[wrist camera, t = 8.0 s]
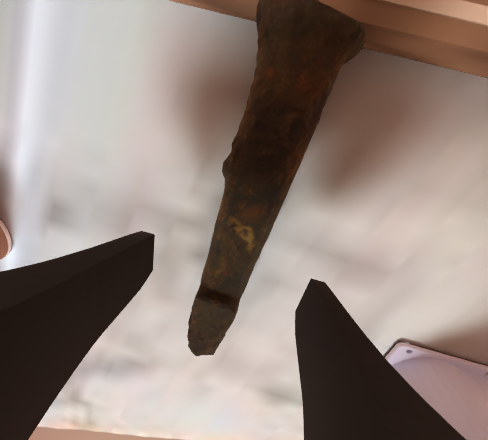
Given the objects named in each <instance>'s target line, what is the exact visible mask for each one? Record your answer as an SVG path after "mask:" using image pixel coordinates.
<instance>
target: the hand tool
mask: <svg viewBox="0 0 488 440" xmlns="http://www.w3.org/2000/svg"><path fill="white" fill-rule="evenodd" d="M256 23H257V30H258V53H257V67H256V70H255V75H254V81H253V84H252V86H251V90H250V95H249V98H248V101H247V107H246V110H245V112H244V116H243V118H242V121H241V123H240V126H239V130H238V133H237V135H236V137H235V138H234V140H233V143H232V151H231V153H230V154H229V156H228V157H227V159H226V160H225V161H224V162H223V169H222V172H223V175H224V178H225V189H224V194H223V198H222V202H221V206H220V210H219V213H218V216H217V220H216V223H215V228H214V233H213V237H212V241H211V246H210V250H209V254H208V258H207V261H206V264H205V267H204V270H203V274H202V278H201V284H200V287H199V290H198V292H197V294H196V297H195V300H194V303H193V305H192V311H191V315H190V318H189V322H188V323H189V329H188V336H187V337H188V341H189V344H188V346H189V348H190V350H191V352H192V353H193V354H194V355H195V356H200V355H213V354H214V353H215V351H216V349H217V348H218V346H219V344H220V343H221V341H222V340H223V338H224V337H225V333H226V332H227V330H228V329H229V327H230V326H231V324H232V322H233V321H234V319H235V316H236V313H237V311H238V306H239V302H240V298H241V296H242V294H243V293H244V290H245V288H246V285H247V283H248V280H249V278H250V276H251V273H252V271H253V268H254V265H255V263H256V262H257V260H258V258H259V256H260V253H261V251H262V248H263V246H264V244H265V242H266V240H267V239H268V237H269V234H270V232H271V230H272V227H273V224H274V222H275V220H276V218H277V216H278V213H279V211H280V209H281V207H282V204H283V202H284V199H285V197H286V195H287V193H288V190H289V188H290V186H291V183H292V181H293V179H294V177H295V174H296V172H297V170H298V168H299V166H300V163H301V161H302V159H303V156H304V154H305V151H306V149H307V147H308V144H309V142H310V140H311V137H312V135H313V133H314V131H315V128H316V126H317V124H318V122H319V120H320V116H321V112H322V109H323V107H324V105H325V103H326V100H327V98H328V96H329V93H330V91H331V88H332V86H333V83H334V81H335V79H336V77H337V74H338V72H339V70H340V68H341V66H342V65H343V64H345V63H346V62H348V61H349V60H351V59H352V58H353V57H354V56H355V55H357V54H358V53H359V52H360V50H361V49H362V48H363V46H364V43H365V39H364V37H365V33H366V32H365V30H364V28H363V27H362V25H361V24H360V23H359V22H358V21H357V20H355V19H353V18H351V17H349V16H348V15H346V14H344V13H342V12H340V11H338V10H336V9H334V8H332V7H330V6H328V5H326V4H324V3H321V2H320V1H319V0H259V2H258V4H257V10H256Z"/></svg>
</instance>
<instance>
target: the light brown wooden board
mask: <svg viewBox="0 0 488 440" xmlns="http://www.w3.org/2000/svg"><path fill="white" fill-rule="evenodd" d="M170 1H174V2H178V3H182V4H186V5H190V6H194V7H198V8H203V9H207V10H211V11H215V12H219V13H223V14H227V15H231V16H236V17H240V18H244V19H248V20H252V21H256V10H257V4H258V2H259V0H170ZM319 1H320V2H321V3H324V4H326V5H328V6H330V7H332V8H334V9H336V10H338V11H340V12H342V13H344V14H346V15H348V16H349V17H351V18H353V19H355V20H357V21H358V22H359V23H360V24H361V25H362V27H363V28H364V30H365V32H366V33H365V37H364V39H365V43H364V46H363V48H367V49H371V50H375V51H379V52H384V53H388V54H392V55H396V56H400V57H404V58H408V59H412V60H416V61H421V62H425V63H429V64H433V65H437V66H441V67H445V68H449V69H453V70H458V71H462V72H466V73H470V74H474V75H478V76H482V77H486V78H488V0H319Z"/></svg>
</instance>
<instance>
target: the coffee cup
mask: <svg viewBox="0 0 488 440" xmlns="http://www.w3.org/2000/svg"><path fill="white" fill-rule="evenodd" d="M11 244H12V242H11V237H10V234H9V232H8V230H7V228H6V226H5V225H4V223H3V222H2V221H1V219H0V259H2V258H4V257H5V256H6V255H8V253H9V252H10V250H11Z"/></svg>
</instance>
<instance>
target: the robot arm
mask: <svg viewBox="0 0 488 440" xmlns="http://www.w3.org/2000/svg"><path fill="white" fill-rule="evenodd" d="M154 237H155V235H154V234H151V233H147V232H143V231H140V232H136V233H133V234H130V235H127V236H124V237H121V238H118V239H115V240H113V241H110V242H107V243H104V244H101V245H98V246H95V247H92V248H89V249H86V250H82V251H79V252H76V253H72V254H69V255H66V256H63V257H59V258H56V259H52V260H49V261H45V262H41V263H37V264H33V265H29V266H24V267H20V268H16V269H11V270H7V271H2V272H0V440H28V439H29V437H30V436H31V434H32V433H33V431H34V430H35V428H36V427H37V425H38V424H39V422H40V421H41V419H42V418H43V416H44V415H45V413H46V412H47V410H48V409H49V407H50V406H51V404H52V403H53V401H54V400H55V398H56V397H57V395H58V394H59V392H60V391H61V389H62V388H63V387H64V385H65V384H66V382H67V381H68V379H69V378H70V376H71V375H72V374H73V372H74V371H75V369H76V368H77V367H78V365H79V364H80V362H81V361H82V360H83V358H84V357H85V355H86V354H87V353H88V351H89V350H90V349H91V347H92V346H93V344H94V343H95V342H96V341H97V339H98V338H99V337H100V336H101V334H102V333H103V332H104V331H105V330H106V329H107V327H108V326H109V325H110V324H111V323H112V322H113V320H114V319H115V318H116V317H117V316H118V315H119V314H120V312H121V311H122V310H123V309H124V308H125V307H126V305H127V304H128V303H129V302H130V301H131V300H132V298H133V297H134V296H135V295H136V294H137V292H138V291H139V290H140V289H141V287H142V286H143V284H144V283H145V281H146V280H147V278H148V277H149V275H150V274H151V272H152V271H153V255H154ZM295 336H296V346H297V355H298V363H299V372H300V381H301V389H302V400H303V417H304V440H488V366H485V365H481V364H477V363H474V362H470V361H467V360H463V359H460V358H456V357H453V356H449V355H446V354H442V353H439V352H435V351H432V350H428V349H425V348H421V347H418V346H414V345H411V344H407V343H403V342H401V343H398V344H396V345H395V347H394V348H393V349H392V350H391V351H390V352H389V354H388V355H387V356H386V357H384V356H383V355H382V354H381V353H380V352H379V351H378V349H377V348H376V347H375V346H374V345H373V343H372V342H371V341H370V340H369V339H368V338H367V336H366V335H365V334H364V333H363V331H362V330H361V329H360V328H359V326H358V325H357V324H356V323H355V321H354V320H353V319H352V317H351V316H350V315H349V313H348V312H347V311H346V309H345V308H344V307H343V305H342V304H341V303H340V301H339V300H338V299H337V297H336V296H335V295H334V293H333V292H332V291H331V290H330V288H329V287H328V286H327V285H326V283H325V282H322V281H318V280H314V279H311V280H310V282H309V284H308V286H307V288H306V290H305V292H304V294H303V296H302V299H301V301H300V303H299V305H298V307H297V309H296V311H295Z"/></svg>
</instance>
